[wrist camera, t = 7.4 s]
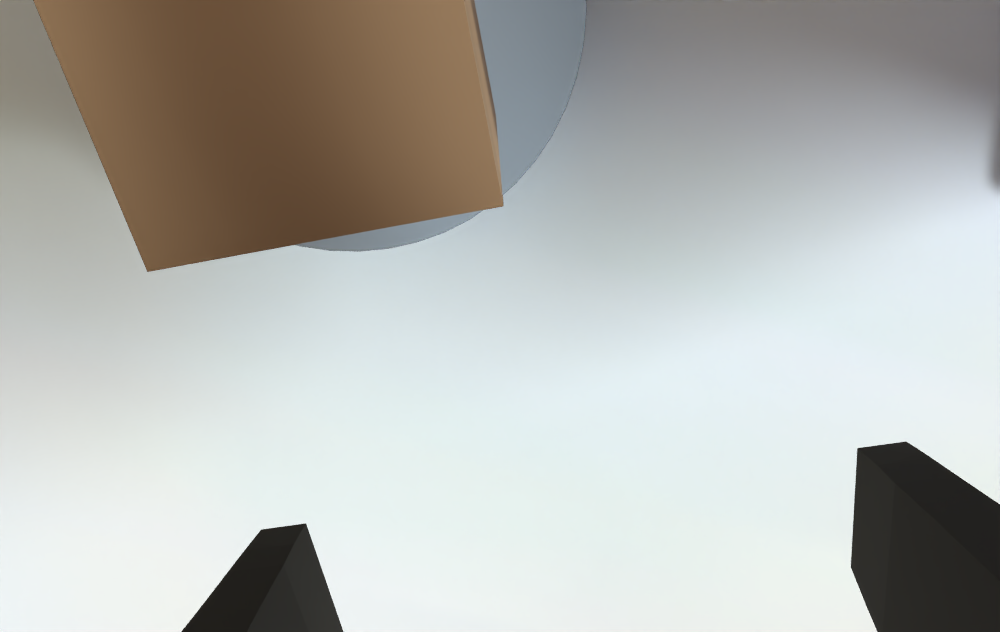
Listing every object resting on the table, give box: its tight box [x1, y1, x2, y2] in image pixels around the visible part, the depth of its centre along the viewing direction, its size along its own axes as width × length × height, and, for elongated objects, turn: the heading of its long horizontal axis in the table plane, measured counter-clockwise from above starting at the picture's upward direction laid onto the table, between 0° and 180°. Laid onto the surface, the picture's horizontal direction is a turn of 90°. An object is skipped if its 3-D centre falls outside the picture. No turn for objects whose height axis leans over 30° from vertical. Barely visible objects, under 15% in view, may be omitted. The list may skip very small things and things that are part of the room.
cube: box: [33, 0, 503, 272], centre depth 12 cm, size 5×5×5 cm
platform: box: [296, 0, 587, 251], centre depth 16 cm, size 9×9×3 cm
